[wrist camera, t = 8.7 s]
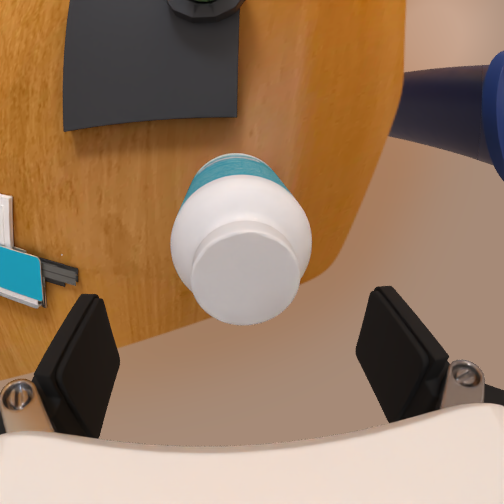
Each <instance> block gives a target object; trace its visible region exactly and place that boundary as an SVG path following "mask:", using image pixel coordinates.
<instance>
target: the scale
mask: <svg viewBox="0 0 504 504" xmlns="http://www.w3.org/2000/svg"><path fill="white" fill-rule="evenodd" d="M244 1H245V0H211V1H206V2H201V1H196V0H70V4H69V11H68V19H67V27H66V37H65V50H64V67H63V127H64V132H66V131H72V130H78V129H84V128H91V127H98V126H105V125H113V124H121V123H130V122H140V121H152V120H165V119H182V118H211V117H237V89H238V47H239V13H240V6H241V5H242V4H243V2H244Z"/></svg>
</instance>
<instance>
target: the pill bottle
mask: <svg viewBox="0 0 504 504" xmlns="http://www.w3.org/2000/svg"><path fill="white" fill-rule="evenodd" d="M311 249H312V235H311V229H310V225H309V222H308V219H307V217H306V215H305V212H304V211H303V209H302V207H301V206H300V205H299V203H298V202H297V200H296V199H295V198H294V197H293V195H292V194H291V193H290V191H289V190H288V189H287V188H286V186H285V185H284V184H283V183H282V181H281V180H280V179H279V178H278V176H277V175H276V174H275V173H274V171H273V170H272V169H271V168H270V167H269V166H268V165H267V164H266V163H264V162H263V161H261V160H260V159H258V158H256V157H254V156H251V155H247V154H242V153H230V154H225V155H221V156H218V157H216V158H214V159H212V160H210V161H209V162H207V163H206V164H205V165H204V166H203V167H202V168H201V169H200V170H199V171H198V172H197V174H196V175H195V177H194V179H193V181H192V183H191V185H190V187H189V189H188V192H187V194H186V196H185V199H184V201H183V203H182V205H181V208H180V210H179V212H178V214H177V217H176V219H175V222H174V225H173V229H172V234H171V255H172V260H173V263H174V266H175V269H176V271H177V273H178V275H179V277H180V278H181V280H182V282H183V283H184V284H185V285H186V286H187V287H188V289H190V290H191V291H192V292H193V294H194V297H195V299H196V301H197V302H198V303H199V305H200V306H201V307H202V309H203V310H204V311H205V312H207V313H208V314H209V315H211V316H212V317H214V318H216V319H217V320H220V321H222V322H225V323H229V324H235V325H253V324H258V323H262V322H265V321H267V320H269V319H272V318H274V317H275V316H277V315H279V314H280V313H281V312H283V311H284V310H285V309H286V308H287V307H288V306H289V304H290V303H291V302H292V301H293V299H294V297H295V295H296V293H297V291H298V288H299V284H300V279H301V277H302V276H303V274H304V272H305V270H306V268H307V265H308V263H309V259H310V255H311Z"/></svg>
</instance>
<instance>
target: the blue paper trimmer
mask: <svg viewBox="0 0 504 504" xmlns="http://www.w3.org/2000/svg"><path fill="white" fill-rule="evenodd" d="M61 255H62V254H61ZM77 275H78V268H74V267H70V266H67V265H64V264H61V263H57V262H54V261H50V260H47V259H43V258H40V257H37V256H33V255H30V254H27V253H26V250H23V249H20V248H17V247H14V240H13V211H12V196H7V195H3V194H0V296H3V297H6V298H8V299H11V300H14V301H16V302H19V303H22V304H25V305H28V306H31V307H33V308H36V309H37V308H38V309H39V306H40V305H42V307H44V308H46V307H47V301H46V291H45V286H46V285H45V281H47V282H50V283H53V284H57V285H60V286H63V287H65V283H68V284H71V285H75V286H76V282H78V276H77ZM40 307H41V306H40Z"/></svg>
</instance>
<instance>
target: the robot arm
mask: <svg viewBox="0 0 504 504" xmlns="http://www.w3.org/2000/svg"><path fill="white" fill-rule="evenodd" d="M356 356H357V358H358V360H359V362H360V364H361V366H362V368H363V370H364V372H365V375H366V377H367V379H368V381H369V383H370V385H371V387H372V389H373V391H374V393H375V395H376V397H377V399H378V401H379V403H380V405H381V407H382V410H383V412H384V414H385V416H386V418H387V420H388V422H389V423H388V424H384V425H380V426H376V427H371V428H367V429H363V430H358V431H353V432H348V433H343V434H337V435H331V436H326V437H319V438H312V439H305V440H298V441H289V442H280V443H269V444H256V445H239V446H169V445H152V444H140V443H130V442H120V441H111V440H103V439H98V438H99V436H100V432H101V428H102V425H103V421H104V417H105V413H106V410H107V406H108V403H109V399H110V396H111V392H112V389H113V385H114V382H115V379H116V375H117V372H118V369H119V365H120V357H119V353H118V350H117V347H116V344H115V340H114V337H113V334H112V330H111V327H110V323H109V319H108V316H107V312H106V308H105V304H104V301H103V299H100V298H99V297H98V295H97V294H81V295H80V297H79V298H78V300H77V301H76V303H75V304H74V306H73V307H72V309H71V311H70V312H69V314H68V315H67V317H66V319H65V320H64V322H63V324H62V325H61V327H60V329H59V330H58V332H57V334H56V335H55V337H54V339H53V340H52V342H51V344H50V346H49V347H48V349H47V351H46V353H45V354H44V356H43V358H42V360H41V362H40V364H39V365H38V367H37V369H36V371H35V373H34V377H33V379H32V381H30V380H27V379H17V380H13V381H11V382H10V383H8V384H7V385H6V386H5V387H4V388H3V389H2V391H1V392H0V504H504V390H501V389H498V388H495V387H493V386H489V385H487V384H485V378H484V374H483V372H482V370H481V369H480V368H479V367H478V366H477V365H475V364H474V363H472V362H470V361H466V360H456V361H453V362H452V363H451V364H449V362H448V361H447V359H448V358H449V355H448V354H447V353H446V352H445V350H444V349H443V348H442V346H441V345H440V344H439V343H438V341H437V340H436V339H435V337H433V335H432V334H431V332H430V331H429V330H428V329H427V328H426V326H425V325H424V324H423V323H422V322H421V320H420V319H419V318H418V316H417V315H416V314H415V313H414V312H413V311H412V309H411V308H410V307H409V306H408V305H407V303H406V302H405V301H404V300H403V299H402V297H401V296H400V295H399V294H398V293H397V292H396V290H395V289H394V288H393V287H392V286H382V287H376V288H375V289H374V291H372V292H371V293H370V296H369V300H368V304H367V308H366V312H365V316H364V320H363V324H362V328H361V331H360V335H359V339H358V342H357V346H356Z"/></svg>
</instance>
